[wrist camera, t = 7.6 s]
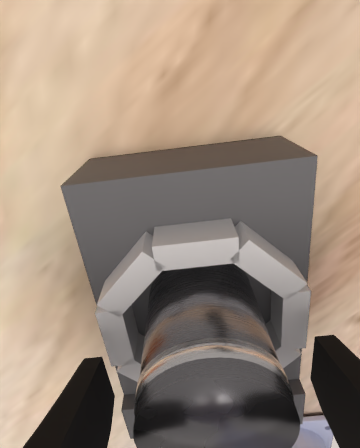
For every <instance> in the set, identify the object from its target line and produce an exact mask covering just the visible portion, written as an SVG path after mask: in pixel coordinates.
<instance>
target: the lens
mask: <svg viewBox="0 0 360 448" xmlns="http://www.w3.org/2000/svg"><path fill="white" fill-rule="evenodd" d="M134 415H135V419H134V428H133V437H134V442H135V444H136V447H137V448H292V447H293V445H294V444H295V442H296V440H297V438H298V436H299V432H300V419H299V415H298V412H297V409H296V407H295V404H294V397H293V393H292V390H291V387H290V385H289V382H288V379H287V377H286V374H285V372H284V370H283V367H282V366H281V364H280V363H279V360H278V357H277V355H276V352H275V349H274V346H273V344H272V341H271V338H270V335H269V333H268V330H267V327H266V324H265V322H264V319H263V316H262V313H261V311H260V308H259V305H258V303H257V300H256V297H255V294H254V292H253V289H252V286H251V283H250V281H249V279H248V277H247V275H246V274H245V273H244V271H243V270H242V269H241V268H239V267H238V266H237V265H235V264H234V263H232V264H223V265H213V266H204V267H194V268H185V269H175V270H166V271H162V272H161V273H160V274H159V275H158V276H157V277H156V278H155V280H154V281H153V283H152V286H151V289H150V295H149V303H148V312H147V320H146V328H145V336H144V345H143V353H142V361H141V370H140V377H139V379H138V383H137V389H136V396H135V404H134Z"/></svg>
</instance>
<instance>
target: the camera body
mask: <svg viewBox="0 0 360 448" xmlns="http://www.w3.org/2000/svg"><path fill="white" fill-rule="evenodd" d="M316 168H317V155H315V154H313V153H311V152H310V151H308V150H306V149H304V148H302V147H300V146H299V145H297V144H295V143H293V142H291V141H289V140H287V139H286V138H284V137H282V136H275V137H267V138H259V139H251V140H242V141H234V142H226V143H218V144H209V145H201V146H193V147H185V148H176V149H168V150H160V151H152V152H143V153H135V154H127V155H119V156H110V157H102V158H94V159H89V160H88V161H87V162H86V163H85V164H84V165H83V166H82V167H81V168H79V169H78V170H77V171H76V172H75V173H74V174H73V175H72V176H71V177H70V178H69V179H68V180H67V181H66V182H64V183H63V184H62V185H61V189H62V193H63V196H64V199H65V202H66V206H67V209H68V212H69V216H70V219H71V222H72V225H73V229H74V232H75V235H76V239H77V242H78V245H79V248H80V252H81V255H82V258H83V262H84V265H85V268H86V272H87V275H88V278H89V281H90V285H91V288H92V291H93V295H94V298H95V301H96V304H97V308H96V311H95V315H96V318H97V321H98V324H99V328H100V331H101V334H102V337H103V340H104V344H105V347H106V350H107V353H108V356H109V360H110V363H111V366H115V367H116V370H117V374H118V377H119V380H120V383H121V387H122V390H123V393H124V398H123V404H122V413H123V416H124V420H125V423H126V426H127V429H128V432H129V435H130V438H131V439H133V438H134V437H133V428H134V419H135V415H134V404H135V396H136V389H137V383H138V379H139V377H140V370H141V361H142V353H143V345H144V336H145V328H146V320H147V312H148V303H149V295H150V289H151V286H152V283H153V281H154V280H155V278H156V277H157V276H158V275H159V274H160V273H161V272H162V271H166V270H175V269H185V268H194V267H204V266H213V265H223V264H232V263H234V264H235V265H237V266H238V267H239V268H241V269H242V270H243V271H244V273H245V274H246V275H247V277H248V279H249V281H250V283H251V286H252V289H253V292H254V294H255V297H256V300H257V303H258V305H259V308H260V311H261V313H262V316H263V319H264V322H265V324H266V327H267V330H268V333H269V335H270V338H271V341H272V344H273V346H274V349H275V352H276V355H277V357H278V360H279V363H280V364H281V366H282V367H283V370H284V372H285V374H286V377H287V379H288V382H289V385H290V387H291V390H292V393H293V397H294V404H295V407H296V409H297V412H298V415H299V419H300V424H302V423H303V413H304V403H305V392H304V389H303V387H302V385H301V382H300V380H299V375H300V363H301V355H302V354H301V351H302V348H306V341H307V330H308V318H309V307H310V296H311V290H310V289H309V287H308V286H307V284H308V283H307V278H308V266H309V253H310V241H311V229H312V217H313V205H314V192H315V180H316Z"/></svg>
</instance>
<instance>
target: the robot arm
mask: <svg viewBox="0 0 360 448" xmlns="http://www.w3.org/2000/svg"><path fill="white" fill-rule="evenodd" d="M311 381H312V384H313V387H314V390H315V392H316V395H317V398H318V401H319V404H320V406H321V409H322V412H323V414H324V415H320V416H308V417H303V423H302V424H300V432H299V436H298V438H297V440H296V442H295V444H294V445H293V447H292V448H331V444H332V439H333V435H334V437H335V439H336V441H337V443H338V445H339V447H340V448H360V359H359V358H358V357H357V356H356V355H355V354H353V353H352V352H351V351H350V350H349V349H348V348H347V347H346V346H345V345H344V344H343V343H342V342H341V341H340V340H339V339H338V338H337V337H336V336H334V335H328V336H317V337H315V341H314V351H313V361H312V370H311ZM114 397H115V396H114V393H113V390H112V386H111V383H110V380H109V377H108V374H107V371H106V368H105V365H104V362H103V359H102V357H96V358H85V359H84V360H83V361H82V362H81V364H80V365H79V367H78V368H77V370H76V372H75V373H74V375H73V376H72V378H71V379H70V381H69V382H68V384H67V385H66V387H65V388H64V390H63V391H62V393H61V394H60V396H59V397H58V399H57V400H56V402H55V403H54V405H53V406H52V408H51V409H50V411H49V412H48V413H47V415H46V416H45V418H44V419H43V421H42V422H41V423H40V425H39V426H38V428H37V429H36V430H35V432H34V433H33V434H32V436H31V437H30V438H29V440H28V441H27V442H26V444H25V445H24V446H23V448H107V446H108V441H109V436H110V431H111V424H112V416H113V407H114Z"/></svg>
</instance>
